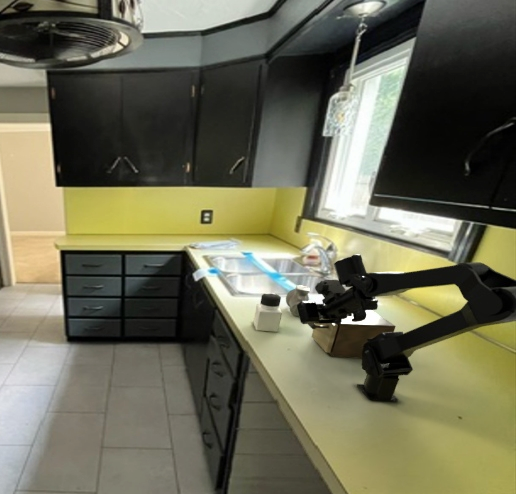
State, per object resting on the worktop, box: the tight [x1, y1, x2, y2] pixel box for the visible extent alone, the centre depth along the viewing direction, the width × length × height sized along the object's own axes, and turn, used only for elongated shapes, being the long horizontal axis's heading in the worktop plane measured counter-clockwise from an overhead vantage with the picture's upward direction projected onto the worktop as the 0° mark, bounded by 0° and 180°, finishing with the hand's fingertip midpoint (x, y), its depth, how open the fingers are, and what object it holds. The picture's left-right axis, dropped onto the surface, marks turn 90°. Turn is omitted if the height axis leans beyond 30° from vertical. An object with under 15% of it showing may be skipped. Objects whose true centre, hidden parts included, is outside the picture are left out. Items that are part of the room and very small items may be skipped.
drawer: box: [307, 323, 339, 354], centre depth 110 cm, size 18×11×9 cm, turn 84°
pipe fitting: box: [285, 284, 311, 318], centre depth 139 cm, size 12×8×10 cm
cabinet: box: [328, 310, 397, 359], centre depth 110 cm, size 15×13×11 cm
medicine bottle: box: [253, 292, 283, 333], centre depth 124 cm, size 7×7×12 cm
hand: (313, 321), depth 110 cm, fingers closed, pressing on drawer
